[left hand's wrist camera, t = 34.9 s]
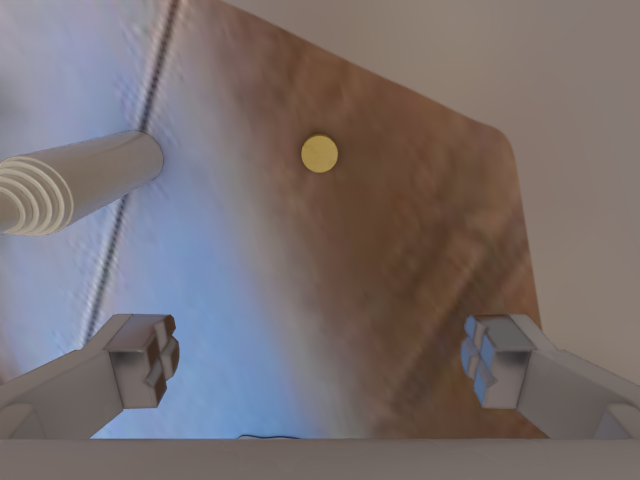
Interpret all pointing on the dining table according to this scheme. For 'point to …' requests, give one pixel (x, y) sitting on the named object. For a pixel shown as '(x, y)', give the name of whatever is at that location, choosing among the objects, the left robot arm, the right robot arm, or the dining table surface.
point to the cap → (319, 153)
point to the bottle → (73, 181)
